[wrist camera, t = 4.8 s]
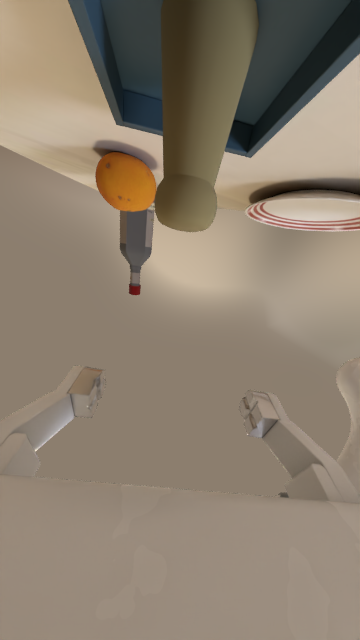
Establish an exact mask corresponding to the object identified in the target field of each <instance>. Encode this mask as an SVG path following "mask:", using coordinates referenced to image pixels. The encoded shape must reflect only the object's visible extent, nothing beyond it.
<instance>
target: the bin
mask: <svg viewBox="0 0 360 640" xmlns="http://www.w3.org/2000/svg"><path fill="white" fill-rule="evenodd" d="M68 1H69V4H70V7H71V9H72V12H73V14H74V17H75V19H76V22H77V25H78V27H79V30H80V32H81V35H82V37H83V40H84V43H85V45H86V48H87V50H88V53H89V55H90V58H91V61H92V63H93V66H94V68H95V71H96V73H97V76H98V78H99V81H100V84H101V86H102V89H103V91H104V94H105V96H106V99H107V102H108V104H109V107H110V109H111V112H112V114H113V117H114V120H115V122H116V125H120V126H125V127H129V128H133V129H137V130H141V131H145V132H149V133H153V134H157V135H161V136H163V109H162V53H161V7H162V4H163V0H68ZM255 1H256V3H257V11H258V19H259V27H258V34H257V40H256V44H255V48H254V51H253V55H252V58H251V61H250V65H249V68H248V72H247V75H246V79H245V82H244V85H243V89H242V92H241V96H240V99H239V103H238V106H237V109H236V113H235V116H234V120H233V123H232V127H231V130H230V133H229V137H228V140H227V144H226V147H225V152H229V153H233V154H237V155H241V156H245V157H249V158H251V157H252V156H253V155H254V154H255V153H256V152H257V151H258V150H259V149H261V148H262V147H263V146H264V145H265V144H266V143H267V142H268V141H269V140H270V139H271V138H272V137H273V136H274V135H275V134H276V133H277V132H278V131H279V130H280V129H281V128H282V127H283V126H285V125H286V124H287V123H288V122H289V121H290V120H291V119H292V118H293V117H294V116H295V115H296V114H297V113H298V112H299V111H300V110H301V109H302V108H303V107H304V106H305V105H306V104H307V103H308V102H310V101H311V100H312V99H313V98H314V97H315V96H316V95H317V94H318V93H319V92H320V91H321V90H322V89H323V88H324V87H325V86H326V85H327V84H328V83H329V82H330V81H331V80H332V79H334V78H335V77H336V76H337V75H338V74H339V73H340V72H341V71H342V70H343V69H344V68H345V67H346V66H347V65H348V64H349V63H350V62H351V61H352V60H353V59H354V58H355V57H356V56H357V55H359V54H360V0H255Z"/></svg>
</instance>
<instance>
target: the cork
mask: <svg viewBox="0 0 360 640" xmlns="http://www.w3.org/2000/svg"><path fill="white" fill-rule="evenodd" d="M258 27H259V19H258V11H257V3H256V1H255V0H163V4H162V7H161V53H162V109H163V166H164V179H163V180H162V181H161V183H160V184H159V186H158V187H157V191H156V194H155V203H154V205H155V213H156V215H157V218H158V220H159V221H160V222H161V223H162V224H163V225H165V226H167V227H170V228H172V229H175V230H180V231H186V232H197V231H203V230H206V229H207V228H208V227H209V226H210V225H211V224H212V222H213V220H214V217H215V214H216V209H217V197H216V193H215V190H214V185H215V181H216V178H217V175H218V171H219V168H220V164H221V161H222V157H223V154H224V151H225V147H226V144H227V140H228V137H229V133H230V130H231V127H232V123H233V120H234V116H235V113H236V109H237V106H238V103H239V99H240V96H241V92H242V89H243V85H244V82H245V79H246V75H247V72H248V68H249V65H250V61H251V58H252V55H253V51H254V48H255V44H256V40H257V34H258Z"/></svg>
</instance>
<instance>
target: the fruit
mask: <svg viewBox="0 0 360 640" xmlns="http://www.w3.org/2000/svg"><path fill="white" fill-rule="evenodd" d="M96 183H97V187H98V189H99V192H100V193H101V195H102V196H103V198H104V199H105V200H106V201H107V202H108V203H109V204H110V205H112V206H113V207H114V208H116V209H118V210H122V211H131V212H135V211H142V210H146V209H147V208H149V207H150V206H151V204H152V203H153V201H154V199H155V194H156V182H155V178H154V175H153V174H152V172H151V170H150V169H149V168H148V167H147V166H146V165H145V164H144V163H143V162H142V161H140V160H139V159H137V158H135V157H133V156H130V155H127V154H124V153H119V152H111V153H109V154H106V155H105V156H104V157H102V159H101V160H100V161H99V163H98V166H97V169H96Z"/></svg>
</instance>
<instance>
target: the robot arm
mask: <svg viewBox="0 0 360 640" xmlns="http://www.w3.org/2000/svg"><path fill="white" fill-rule="evenodd" d="M104 376H105V370H102V369H96V368H90V367H83V366H78V365H75V366H74V367H73V368H72V369H71V370H70V372H69V373H68V374H67V375H66V377H65V378H64V380H63V381H62V382H61V384H60V385H59V386H58V388H57V389H56V390H55V392H53V391H51V392H49V393H47V394H46V395H44V396H42V397H41V398H39V399H37V400H35V401H34V402H32V403H30V404H28V405H27V406H25V407H23V408H21V409H20V410H18V411H16V412H15V413H13V414H11V415H9V416H7V417H6V418H4V419H2V420H1V421H0V640H360V357H359V358H354V359H352V360H349V361H347V362H346V363H344V364H343V365H342V366H341V367H340V369H339V370H338V372H337V376H336V382H337V386H338V389H339V390H340V392H341V394H342V395H343V397H344V399H345V401H346V403H347V405H348V408H349V411H350V416H351V431H350V435H349V438H348V440H347V442H346V445H345V447H344V449H343V451H342V452H341V454H340V456H339V457H338V459H337V461H335V460H334V459H333V458H332V457H330V456H329V455H328V454H327V453H326V452H325V451H324V450H323V449H322V448H321V447H320V446H318V445H317V444H316V443H315V442H314V441H313V440H312V439H311V438H310V437H309V436H308V435H306V434H305V433H304V432H303V431H302V430H301V429H300V428H299V427H298V426H297V425H295V424H294V423H293V422H290V420H289V419H288V417H287V415H286V413H285V411H284V409H283V408H282V406H281V404H280V402H279V400H278V398H277V396H276V395H275V394H274V393H268V392H261V391H253V390H248V391H247V392H246V393H245V395H246V397H244V398H242V400H241V402H240V412H241V415H242V417H243V418H244V419H245V422H244V426H245V429H246V432H247V435H248V436H252V437H258V438H262V439H263V441H264V442H265V443H266V445H267V446H268V447H269V449H270V450H271V451H272V453H273V454H274V455H275V457H276V458H277V459H278V461H279V462H280V463H281V465H282V466H283V467H284V469H285V470H286V471H287V473H288V474H289V475H290V477H291V478H292V479H290V480H289V481H288V482H286V484H285V488H286V491H287V493H279V494H278V495H276V496H274V497H273V496H261V495H248V494H237V493H225V492H213V491H200V490H189V489H177V488H165V487H152V486H141V485H128V484H116V483H104V482H91V481H80V480H68V479H55V478H43V477H34V475H35V473H36V471H37V470H38V468H39V466H40V460H39V458H38V456H37V454H36V452H35V451H36V450H37V449H39V448H40V447H41V446H42V445H43V444H44V443H45V442H47V441H48V440H49V439H50V438H51V437H52V436H54V435H55V434H56V433H57V432H58V431H59V430H61V429H62V428H63V427H64V426H65V425H66V424H67V423H69V422H70V421H71V420H72V419H73V418H74V416H75V417H87V418H92V417H93V415H94V413H95V411H96V408H97V406H98V400H99V399H100V398H101V397H102V395H103V392H104V389H105V385H106V380H105V379H104Z"/></svg>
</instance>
